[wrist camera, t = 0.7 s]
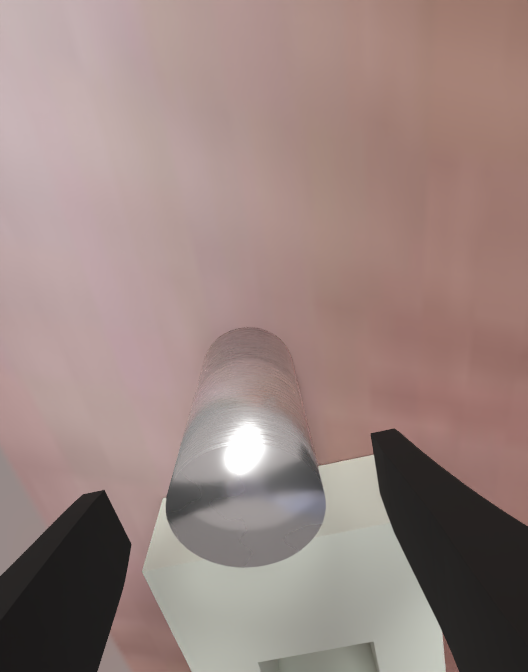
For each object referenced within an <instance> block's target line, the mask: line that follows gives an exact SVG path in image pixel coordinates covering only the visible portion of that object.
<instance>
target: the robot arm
mask: <svg viewBox="0 0 528 672" xmlns="http://www.w3.org/2000/svg"><path fill="white" fill-rule="evenodd" d="M371 439H372V446H373V452H374V459H375V465H376V472H377V478H378V485H379V492H380V496H381V498H382V501H383V504H384V507H385V509H386V512H387V515H388V518H389V520H390V523H391V526H392V528H393V531H394V533H395V536H396V538H397V540H398V542H399V544H400V546H401V548H402V550H403V552H404V554H405V556H406V558H407V560H408V562H409V564H410V566H411V569H412V571H413V573H414V575H415V577H416V579H417V581H418V583H419V585H420V587H421V589H422V591H423V593H424V595H425V597H426V599H427V601H428V603H429V605H430V607H431V609H432V611H433V613H434V615H435V617H436V619H437V621H438V624H439V626H440V628H441V630H442V632H443V634H444V636H445V639H446V641H447V643H448V645H449V648H450V650H451V652H452V655H453V657H454V660H455V662H456V665H457V667H458V670H459V672H528V526H526V525H525V524H523V523H521V522H520V521H518V520H517V519H515V518H513V517H512V516H510V515H509V514H507V513H506V512H504V511H503V510H501V509H500V508H498V507H497V506H495V505H494V504H492V503H491V502H489V501H488V500H486V499H485V498H483V497H482V496H480V495H479V494H477V493H476V492H475V491H473V490H472V489H470V488H469V487H468V486H466V485H465V484H464V483H462V482H461V481H460V480H458V479H457V478H456V477H454V476H453V475H452V474H450V473H449V472H448V471H446V470H445V469H444V468H442V467H441V466H440V465H438V464H437V463H436V462H435V461H433V460H432V459H431V458H430V457H428V456H427V455H426V454H425V453H423V452H422V451H421V450H420V449H419V448H417V447H416V446H415V445H414V444H413V443H412V442H410V441H409V440H408V439H407V438H406V437H405V436H403V435H402V434H401V433H400V432H399V431H397V430H396V429H390V430H385V431H380V432H375V433H371ZM130 550H131V543H130V541H129V539H128V537H127V535H126V533H125V530H124V528H123V526H122V524H121V522H120V520H119V518H118V516H117V514H116V512H115V510H114V508H113V506H112V504H111V502H110V500H109V498H108V496H107V494H106V492H105V490H102V491H97V492H92V493H88V494H83V495H82V496H81V497H80V498H78V499H77V500H76V501H75V502H74V503H73V504H72V505H71V506H70V507H69V508H68V509H67V510H66V511H65V512H64V513H63V514H62V515H61V516H60V517H59V518H58V519H57V520H56V521H55V522H54V523H53V524H52V525H51V526H50V527H49V528H48V529H47V530H46V531H45V532H44V533H43V534H42V535H41V536H40V537H39V538H38V539H37V540H36V541H35V542H34V543H33V544H32V545H31V546H30V547H29V548H28V549H27V550H26V551H25V552H24V553H23V554H22V555H21V556H20V557H19V558H18V559H17V560H16V561H15V562H14V563H13V564H12V565H11V566H10V567H9V568H8V569H7V570H6V571H5V572H4V573H3V574H2V575H1V576H0V672H97V671H98V668H99V664H100V661H101V658H102V655H103V652H104V649H105V645H106V642H107V639H108V636H109V633H110V630H111V626H112V623H113V620H114V617H115V614H116V610H117V607H118V604H119V600H120V597H121V594H122V590H123V587H124V582H125V577H126V573H127V568H128V562H129V556H130Z"/></svg>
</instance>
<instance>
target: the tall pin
mask: <svg viewBox="0 0 528 672" xmlns="http://www.w3.org/2000/svg"><path fill="white" fill-rule="evenodd" d="M325 511H326V499H325V494H324V489H323V485H322V481H321V477H320V473H319V468H318V464H317V460H316V456H315V452H314V448H313V444H312V439H311V435H310V431H309V427H308V423H307V419H306V415H305V410H304V406H303V402H302V398H301V394H300V390H299V386H298V381H297V377H296V373H295V369H294V365H293V361H292V357H291V354H290V352H289V350H288V348H287V347H286V345H285V344H284V343H283V342H282V341H281V340H280V339H279V338H278V337H277V336H275V335H274V334H272V333H270V332H268V331H265V330H262V329H258V328H249V327H247V328H239V329H235V330H232V331H229V332H227V333H225V334H223V335H222V336H220V337H219V338H218V339H217V340H215V342H214V343H213V344H212V345H211V347H210V348H209V350H208V352H207V354H206V357H205V360H204V364H203V367H202V371H201V374H200V378H199V382H198V385H197V389H196V392H195V396H194V400H193V403H192V407H191V410H190V414H189V418H188V421H187V425H186V428H185V432H184V436H183V439H182V443H181V446H180V450H179V454H178V457H177V461H176V464H175V468H174V472H173V475H172V479H171V483H170V486H169V490H168V493H167V498H166V516H167V520H168V523H169V526H170V528H171V530H172V532H173V533H174V535H175V536H176V538H177V539H178V540H179V541H180V542H181V543H182V544H183V545H184V546H185V547H186V548H187V549H188V550H190V551H191V552H192V553H194V554H196V555H197V556H199V557H201V558H203V559H205V560H208V561H210V562H213V563H216V564H220V565H224V566H230V567H242V568H249V567H259V566H265V565H270V564H273V563H277V562H279V561H282V560H285V559H287V558H289V557H291V556H293V555H294V554H296V553H297V552H299V551H300V550H302V549H303V548H304V547H305V546H306V545H308V544H309V542H310V541H311V540H312V539H313V538H314V537H315V535H316V534H317V533H318V531H319V529H320V527H321V525H322V523H323V520H324V517H325Z"/></svg>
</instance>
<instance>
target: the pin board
mask: <svg viewBox="0 0 528 672" xmlns="http://www.w3.org/2000/svg"><path fill="white" fill-rule="evenodd" d="M318 468H319V473H320V477H321V481H322V485H323V489H324V494H325V499H326V511H325V517H324V520H323V523H322V525H321V527H320V529H319V531H318V533H317V534H316V535H315V537H314V538H313V539H312V540H311V541H310V542H309V544H308V545H306V546H305V547H304V548H303V549H302V550H300V551H299V552H297V553H296V554H294V555H293V556H291V557H289V558H287V559H285V560H282V561H279V562H277V563H273V564H270V565H265V566H259V567H249V568H242V567H230V566H224V565H220V564H216V563H213V562H210V561H208V560H205V559H203V558H201V557H199V556H197V555H196V554H194V553H192V552H191V551H190V550H188V549H187V548H186V547H185V546H184V545H183V544H182V543H181V542H180V541H179V540H178V539H177V538H176V536H175V535H174V533H173V532H172V530H171V528H170V526H169V523H168V520H167V516H166V498H163V500H162V504H161V507H160V511H159V514H158V518H157V521H156V525H155V528H154V532H153V535H152V539H151V542H150V546H149V549H148V552H147V556H146V559H145V563H144V566H143V570H142V573H143V575H144V577H145V579H146V581H147V583H148V585H149V587H150V589H151V591H152V593H153V595H154V597H155V599H156V601H157V603H158V605H159V607H160V609H161V611H162V613H163V615H164V617H165V619H166V621H167V623H168V625H169V627H170V629H171V631H172V633H173V635H174V637H175V639H176V641H177V643H178V645H179V647H180V649H181V651H182V653H183V655H184V657H185V659H186V661H187V663H188V665H189V667H190V669H191V671H192V672H446V669H445V658H444V648H443V637H442V630H441V628H440V626H439V624H438V621H437V619H436V617H435V615H434V613H433V611H432V609H431V607H430V605H429V603H428V601H427V599H426V597H425V595H424V593H423V591H422V589H421V587H420V585H419V583H418V581H417V579H416V577H415V575H414V573H413V571H412V569H411V566H410V564H409V562H408V560H407V558H406V556H405V554H404V552H403V550H402V548H401V546H400V544H399V542H398V540H397V538H396V536H395V533H394V531H393V528H392V526H391V523H390V520H389V518H388V515H387V512H386V509H385V507H384V504H383V501H382V498H381V496H380V492H379V485H378V478H377V472H376V465H375V459H374V455H370V456H365V457H360V458H355V459H350V460H346V461H341V462H336V463H331V464H326V465H321V466H318Z"/></svg>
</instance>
